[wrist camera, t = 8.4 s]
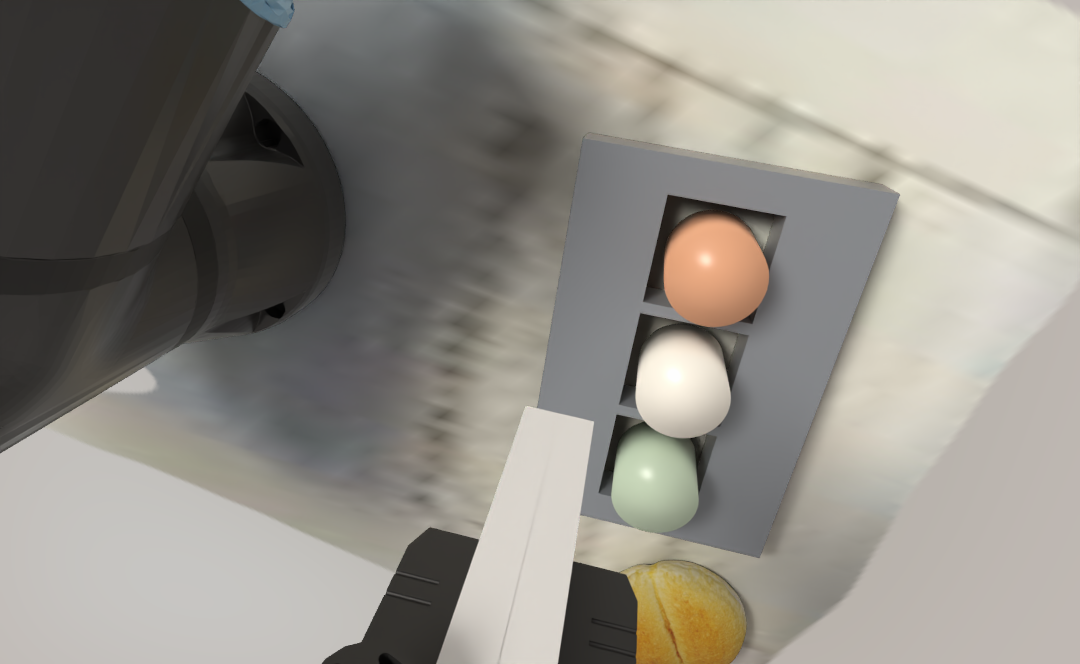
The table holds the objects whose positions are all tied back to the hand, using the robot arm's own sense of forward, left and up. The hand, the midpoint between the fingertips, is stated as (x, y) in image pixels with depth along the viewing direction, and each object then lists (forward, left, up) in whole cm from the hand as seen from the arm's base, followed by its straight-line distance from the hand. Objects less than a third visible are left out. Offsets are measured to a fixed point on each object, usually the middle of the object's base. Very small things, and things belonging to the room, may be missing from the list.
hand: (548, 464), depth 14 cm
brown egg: (+5, 0, -20) cm, 20 cm away
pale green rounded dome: (+5, -12, -19) cm, 23 cm away
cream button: (+5, -6, -20) cm, 21 cm away
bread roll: (+8, -24, -21) cm, 33 cm away
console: (+5, -6, -21) cm, 22 cm away
